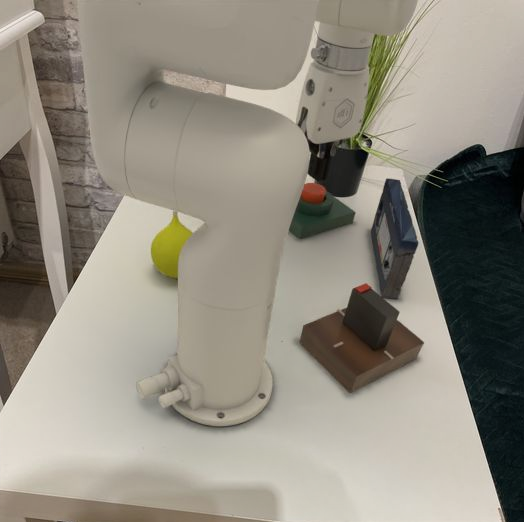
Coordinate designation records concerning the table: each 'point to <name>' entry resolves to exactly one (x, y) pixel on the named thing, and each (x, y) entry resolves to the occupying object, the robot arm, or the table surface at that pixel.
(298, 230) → the button box
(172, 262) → the ornament
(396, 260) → the vhs cassette tape
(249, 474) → the table surface
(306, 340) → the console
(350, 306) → the grey square slab
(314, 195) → the button
